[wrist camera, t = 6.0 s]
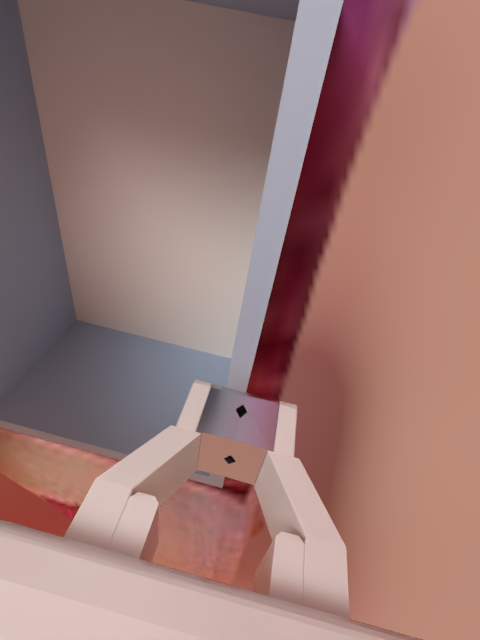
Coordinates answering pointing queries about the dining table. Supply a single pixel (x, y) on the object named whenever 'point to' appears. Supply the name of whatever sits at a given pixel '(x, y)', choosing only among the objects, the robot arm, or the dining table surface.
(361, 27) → the dining table surface
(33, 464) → the dining table surface
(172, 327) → the box
